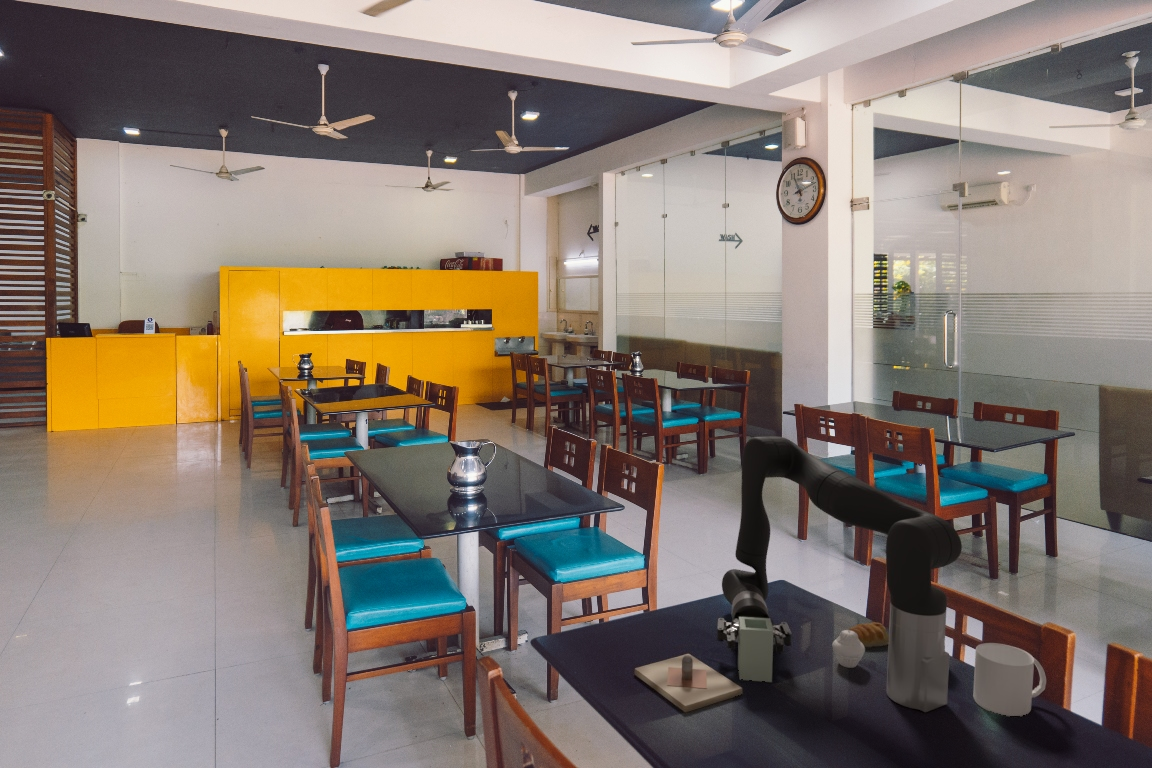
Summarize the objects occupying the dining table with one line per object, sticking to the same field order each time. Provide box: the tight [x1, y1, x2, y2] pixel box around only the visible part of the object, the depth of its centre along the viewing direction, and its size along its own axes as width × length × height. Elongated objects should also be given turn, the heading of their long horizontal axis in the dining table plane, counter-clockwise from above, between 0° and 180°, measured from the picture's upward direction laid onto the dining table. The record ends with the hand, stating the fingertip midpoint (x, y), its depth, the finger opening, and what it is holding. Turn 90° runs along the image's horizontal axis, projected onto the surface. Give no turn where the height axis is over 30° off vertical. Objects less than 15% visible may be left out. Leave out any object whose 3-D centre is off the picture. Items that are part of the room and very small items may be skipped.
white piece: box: [831, 629, 866, 669], centre depth 151 cm, size 6×6×7 cm
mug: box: [972, 642, 1047, 717], centre depth 135 cm, size 12×9×9 cm
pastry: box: [847, 621, 889, 648], centre depth 162 cm, size 9×7×4 cm
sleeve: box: [737, 617, 774, 683], centre depth 147 cm, size 6×6×10 cm
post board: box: [634, 653, 743, 713], centre depth 143 cm, size 16×13×6 cm
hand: (756, 647), depth 145 cm, fingers open, 8 cm apart
